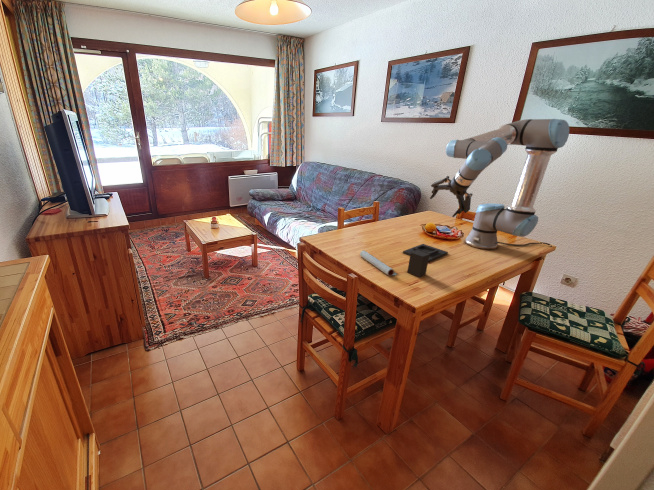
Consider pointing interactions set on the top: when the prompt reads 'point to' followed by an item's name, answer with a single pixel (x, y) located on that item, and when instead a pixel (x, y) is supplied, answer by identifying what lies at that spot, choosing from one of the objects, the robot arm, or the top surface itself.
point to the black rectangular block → (418, 263)
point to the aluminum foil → (377, 263)
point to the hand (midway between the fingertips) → (443, 206)
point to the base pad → (427, 251)
